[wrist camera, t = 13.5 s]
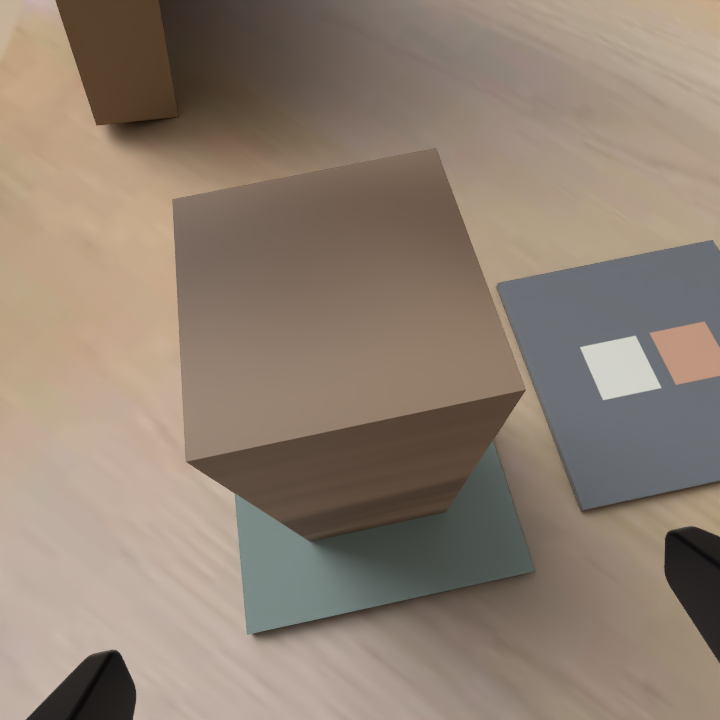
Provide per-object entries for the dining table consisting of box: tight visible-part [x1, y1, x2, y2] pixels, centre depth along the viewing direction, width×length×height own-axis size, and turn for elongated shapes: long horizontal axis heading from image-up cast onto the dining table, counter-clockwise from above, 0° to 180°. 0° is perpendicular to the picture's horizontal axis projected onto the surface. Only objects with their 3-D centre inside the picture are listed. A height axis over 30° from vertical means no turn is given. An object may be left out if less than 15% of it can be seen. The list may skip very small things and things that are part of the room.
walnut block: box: [172, 148, 526, 542], centre depth 14 cm, size 5×5×12 cm
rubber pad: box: [235, 441, 535, 635], centre depth 19 cm, size 10×10×1 cm
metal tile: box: [497, 240, 720, 511], centre depth 21 cm, size 10×10×1 cm
